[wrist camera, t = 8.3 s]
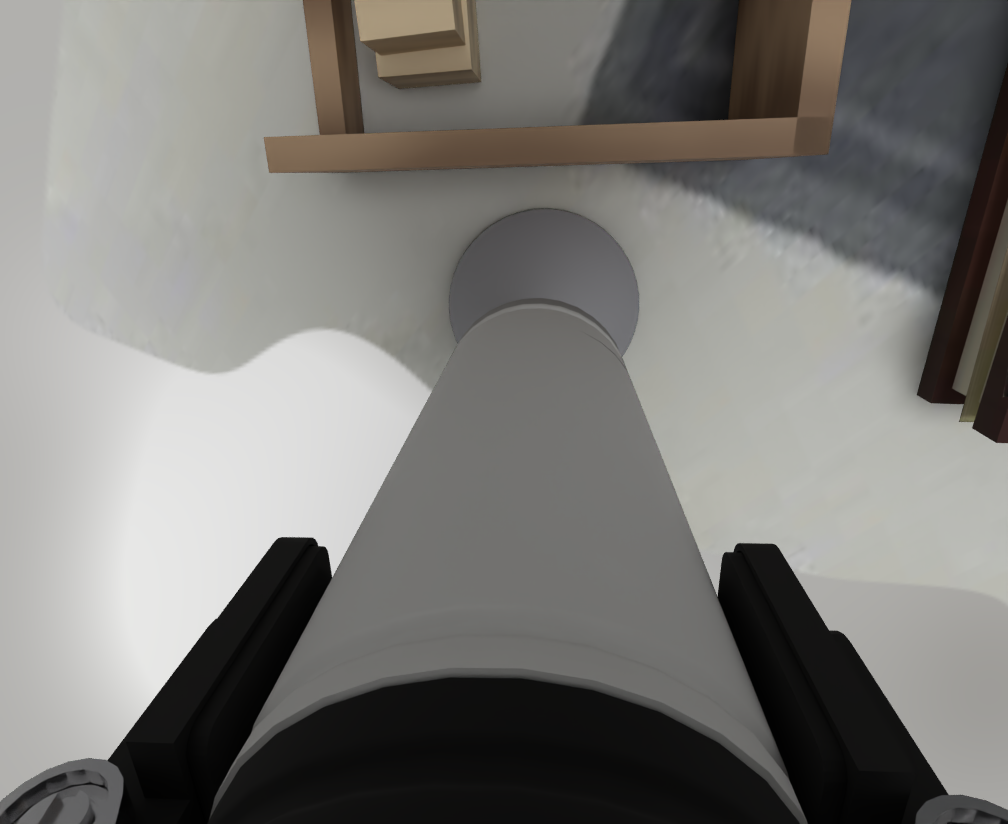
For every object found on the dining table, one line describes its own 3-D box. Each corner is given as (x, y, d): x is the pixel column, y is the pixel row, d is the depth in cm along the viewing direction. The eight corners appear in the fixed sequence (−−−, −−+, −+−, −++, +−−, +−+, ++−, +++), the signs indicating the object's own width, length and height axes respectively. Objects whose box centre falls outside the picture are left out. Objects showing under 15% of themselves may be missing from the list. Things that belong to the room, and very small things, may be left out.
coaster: (444, 211, 31) (442, 212, 31) (642, 205, 31) (644, 206, 30) (456, 394, 35) (454, 398, 35) (633, 394, 34) (634, 397, 34)
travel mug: (653, 313, 21) (1633, 1621, 2) (595, 481, 23) (791, 1778, 4) (472, 265, 20) (-308, 1206, 2) (433, 440, 23) (-72, 1606, 4)
